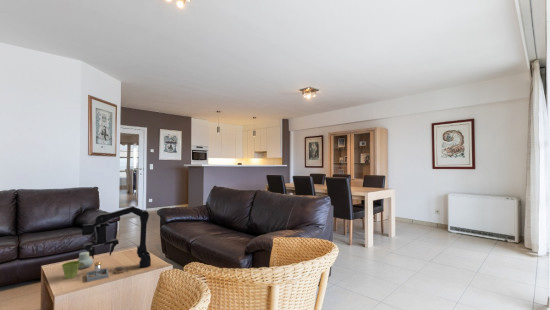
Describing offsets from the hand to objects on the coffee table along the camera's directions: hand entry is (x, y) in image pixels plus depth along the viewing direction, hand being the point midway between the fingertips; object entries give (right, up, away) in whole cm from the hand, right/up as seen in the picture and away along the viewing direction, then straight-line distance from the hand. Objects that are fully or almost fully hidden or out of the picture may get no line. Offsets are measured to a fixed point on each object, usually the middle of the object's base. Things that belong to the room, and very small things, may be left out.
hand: (101, 257), depth 176 cm
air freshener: (-21, -12, +14) cm, 28 cm away
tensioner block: (+9, -12, +4) cm, 15 cm away
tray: (0, -12, -4) cm, 12 cm away
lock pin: (0, -11, -4) cm, 12 cm away
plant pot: (-18, -12, -3) cm, 22 cm away
